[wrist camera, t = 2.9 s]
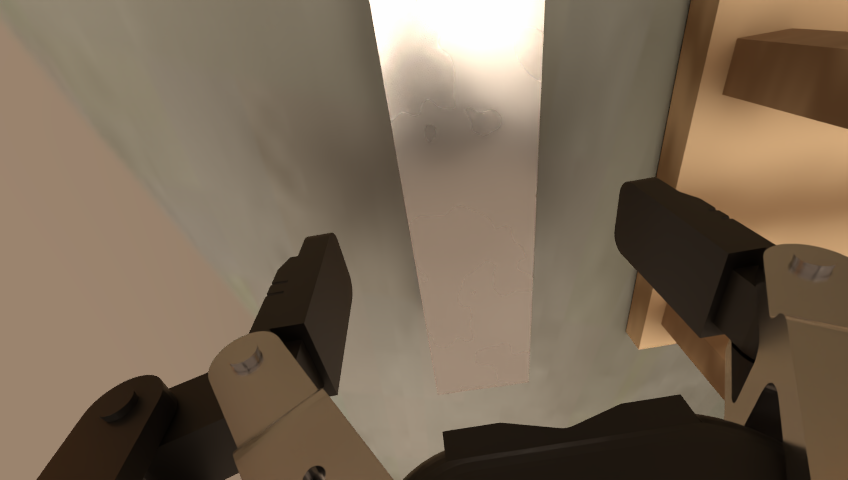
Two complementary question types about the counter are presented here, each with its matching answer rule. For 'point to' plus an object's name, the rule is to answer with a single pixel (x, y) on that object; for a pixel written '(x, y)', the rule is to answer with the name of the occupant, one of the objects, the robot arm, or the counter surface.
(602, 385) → the counter surface
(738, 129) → the rack
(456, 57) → the pale beige plank
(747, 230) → the robot arm
